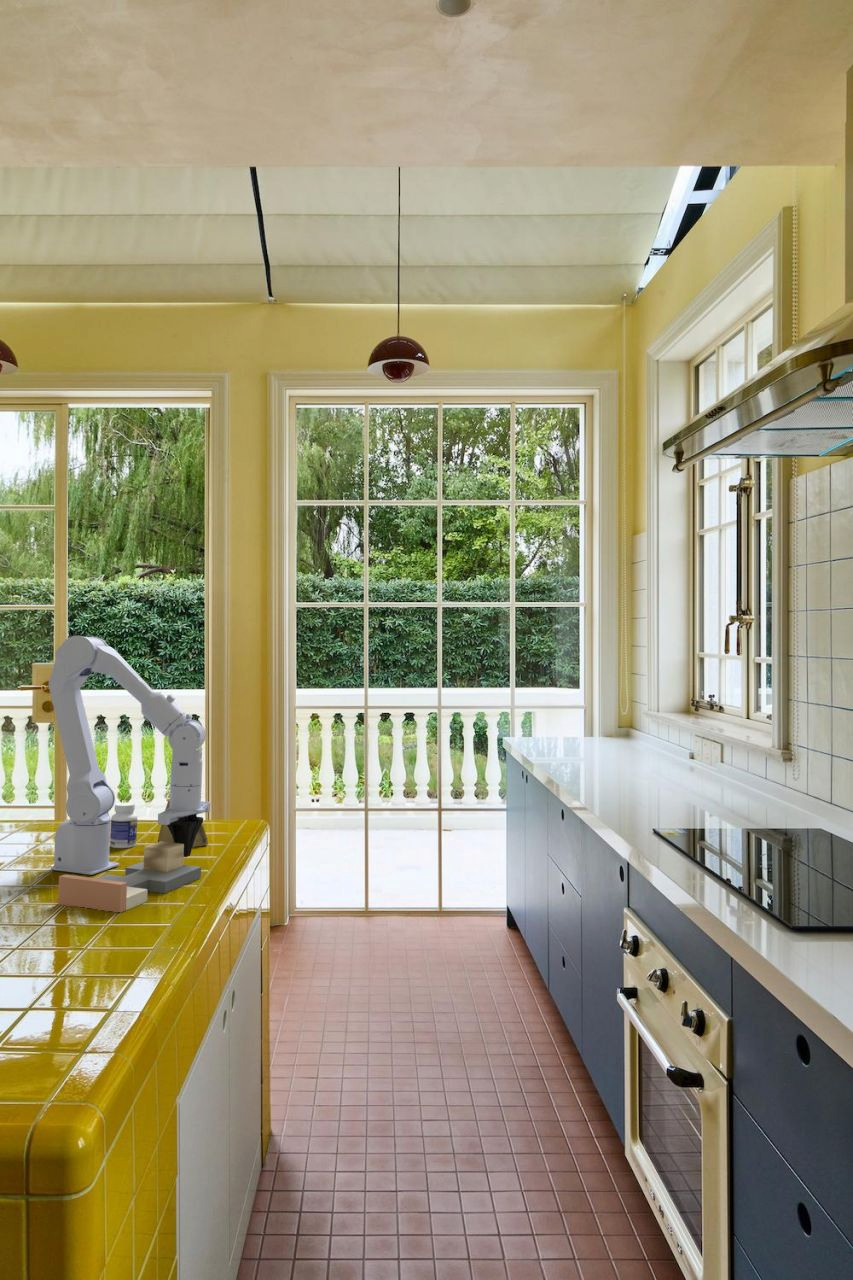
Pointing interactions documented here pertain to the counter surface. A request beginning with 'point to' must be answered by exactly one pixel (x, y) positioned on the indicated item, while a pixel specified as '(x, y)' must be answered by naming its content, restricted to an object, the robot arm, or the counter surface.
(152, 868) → the maple block
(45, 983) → the counter surface
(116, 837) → the pill bottle
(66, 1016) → the counter surface
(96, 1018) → the counter surface
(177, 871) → the plate
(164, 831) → the rock
